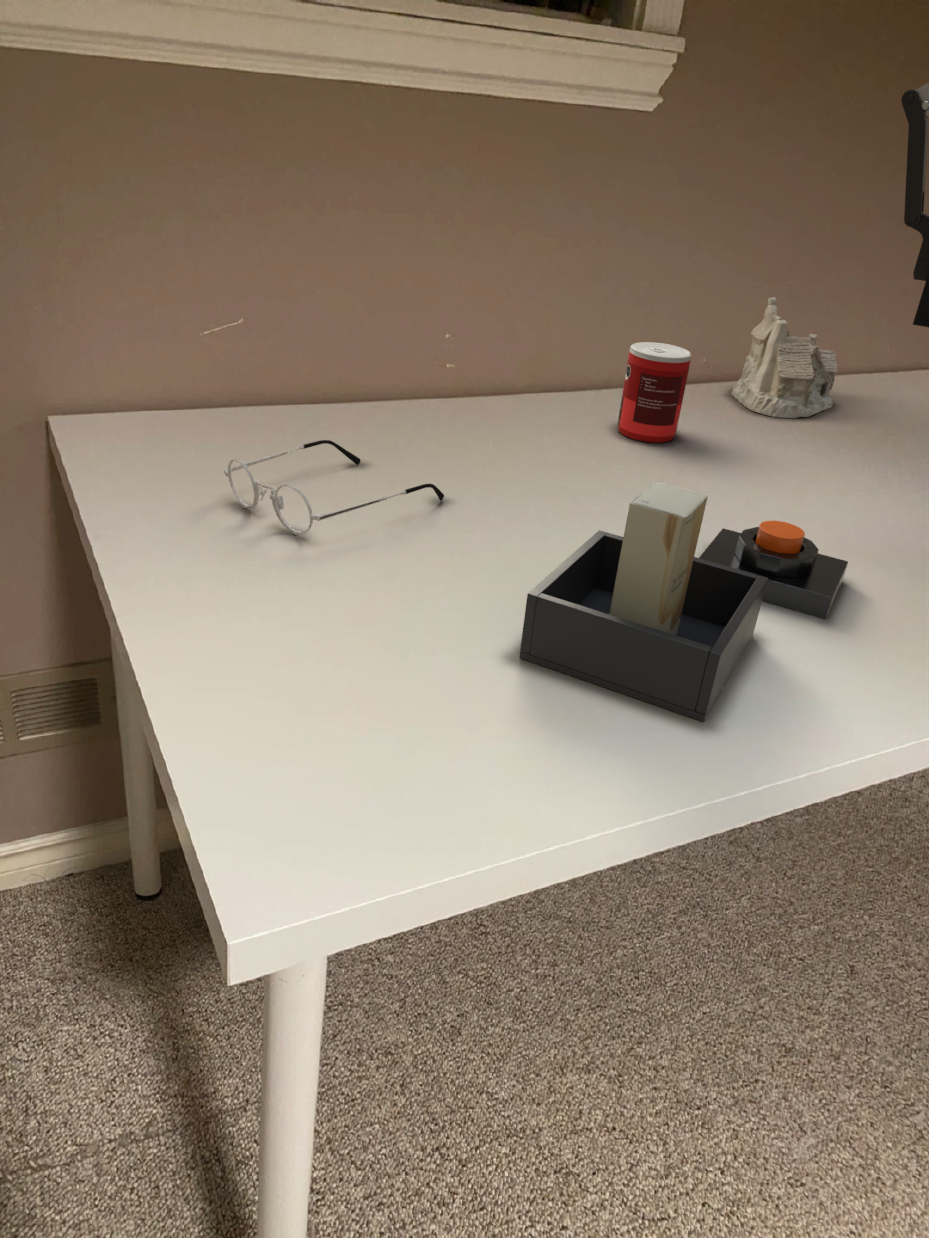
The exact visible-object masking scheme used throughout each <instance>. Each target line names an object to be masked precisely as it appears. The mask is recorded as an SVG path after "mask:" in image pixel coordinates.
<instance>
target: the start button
mask: <svg viewBox="0 0 929 1238" xmlns="http://www.w3.org/2000/svg"><path fill="white" fill-rule="evenodd" d="M758 527H759V530H758V534H757V537H756V541H755V543H756V544H757V545H759V546H761V547H762V548H764V549H766V550H770V551H774V552H778V553H785V554H795V553H799V552H800V550H801V546H802V543H803V539H804V537H805V536H806V533H805V531H804V529H802V528H801V527H799V526H797V525H795V524H792V523H789V522H785V521H781V520H765V521H762V522H761V523H759V526H758Z"/></svg>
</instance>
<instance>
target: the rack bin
mask: <svg viewBox="0 0 929 1238" xmlns="http://www.w3.org/2000/svg"><path fill="white" fill-rule="evenodd" d="M623 537H624V536H621V535H617V534H615V533H611V532H608V531H603V530H600V529H599V530H598V531H596V532H595V533H594V534H593V535H592V536H591V537H590V538H588V539H587V540H586V541H585V542H584V543H583V544H582V545H581V546H579V547H578V548H577V549H576V550H575V551H574V552H573V553H572V554H570V555H569V556H568V557H567V558H566V559H565V560H563V562H561V563H560V564H559V565H558V566H557V567H556V568H555V569H553V570H552V571H551V572H550V573H549V574H548V575H547V576H545V578H544V579H542V580H541V581H540V582H539V583H538V584H536V586H535V587H534V588H532V589H531V590H530V591H529V592H528V593H527V595H526V603H525V611H524V617H523V618H524V619H523V626H522V633H521V641H520V649H519V659H522V660H525V661H528V662H531V663H534V664H537V665H539V666H542V667H545V668H548V669H550V670H554V671H556V672H559V673H562V674H565V675H568V676H570V677H574V678H575V679H576V678H577V679H579V680H582V681H585V682H589V683H591V684H594V685H597V686H599V687H603V688H605V689H608V690H611V691H614V692H616V693H620V694H622V695H625V696H628V697H631V698H634V699H636V700H639V701H643V702H646V703H648V704H651V705H654V706H656V707H660V708H663V709H666V710H668V711H672V712H673V713H674V712H675V713H677V714H680V715H682V716H686V717H688V718H691V719H695V720H697V721H700V722H703V723H704V722H705V720H706V719H707V718H708V715H709V713H710V712H711V710H712V708H713V707H714V705H715V703H716V701H717V700H718V698H719V696H720V694H722V691H723V690H724V687H725V686H726V684H727V682H728V680H729V679H730V677H731V675H732V674H733V672H734V670H735V668H736V666H737V665H738V663H739V662H740V660H741V658H742V656H743V654H744V653H745V651H746V649H747V647H748V646H749V644H750V642H751V640H752V639H753V637H754V632H755V628H756V625H757V621H758V618H759V614H760V611H761V607H762V602H763V601H762V599H763V596H764V592H765V588H766V585H767V581H768V578H767V577H763V576H760V575H759V576H758V575H757V574H753V573H750V572H746V571H743V570H739V569H735V568H732V567H728V566H725V565H721V564H718V563H714V562H710V561H707V560H703V559H700V558H699V557H696V556H694V560H693V564H692V568H691V573H690V578H689V582H688V586H687V591H686V595H685V600H684V605H683V609H682V614H681V618H680V623H679V627H678V632H677V634H676V635H673V634H670V633H667V632H663V631H660V630H657V629H654V628H651V627H648V626H644V625H641V624H638V623H635V622H632V621H629V620H625V619H622V618H619V617H616V616H613V615H610V614H609V613H610V608H611V603H612V597H613V592H614V586H615V581H616V575H617V570H618V565H619V559H620V553H621V548H622V543H623Z"/></svg>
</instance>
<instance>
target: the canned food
mask: <svg viewBox="0 0 929 1238" xmlns="http://www.w3.org/2000/svg"><path fill="white" fill-rule="evenodd" d="M691 361H692V353H691V352H690V351H689V350H687V349H685V348H683V347H680V346H678V345H674V344H668V343H663V342H653V341H641V342H635V343H632V344H631V345H630V348H629V352H628V358H627V363H626V369H625V375H624V381H623V387H622V394H621V399H620V400H621V401H620V406H619V412H618V418H617V427H618V428H617V429H618V431H619V432H620V433H621V434H622V435H623V436H625V437H627V438H630V439H632V440H635V441H640V442H645V443H654V444H656V443H659V444H660V443H667V442H670V441H672V440H673V439H674V437H675V435H676V434H677V431H678V425H679V420H680V415H681V410H682V406H683V401H684V396H685V391H686V385H687V382H688V381H687V380H688V376H689V371H690V366H691Z"/></svg>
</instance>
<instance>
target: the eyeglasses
mask: <svg viewBox="0 0 929 1238" xmlns="http://www.w3.org/2000/svg"><path fill="white" fill-rule="evenodd" d="M324 444H326V445H327V444H328V445H331V446H333V447H334V448H336V450H338V451H339V452H340V453H342V455H344V456H345V457H346V458H348V459H349V460H350V461H351V462H352V463H354V464H355V465H360V463H361V458H360V457H358V456H356V455H355V454H353V453H352V452H350V451H349V450H347V449H345V448H344V447H342V446H341V445H339V444H338V443H336V442H334V441H333V440H329V439H322V440H321V439H320V440H316V441H313V442H308V443H305V444H302V445H301V446H299V447H296V448H294V449H290V450H285V451H281V452H278V453H275V454H272V455H268V456H265V457H262V458H258V459H255V460H252V461H249V462H245V463H244V462H243V461H242V460H241V459H239V458H234V459H231V460H230V461H229V463H228V465H227V468H225V469H223V474H224V475H225V477H228V482H229V485H230V487H231V490H232V492H233V495H234V496H235V498H236V499H237V500H238V502H239V503H240V504H241V505H242V508H243V509H247V510H255V509H256V508H257V506H258V504H259V500H260V502H262V501H263V500H264V497H265V495H266V493H267V490H270V494H269V499H270V500H271V505H272V507H273V510H274V512H275V515H276V517H277V519H278V520H279V521H280V523H281V524H282V526H283V527H284V528H285V529H286V530H288V531H289V532H291V533H292V534H293V535H295V536H298V535H299V534H300V535H302V534H306V533H308V532H309V531H310V530H311V529H312V526H313V524H314V523H313V522H314V521H318V522H319V521H322V520H327V519H329V518H330V519H331V518H333V517H335V516H336V517H337V516H339V515H342V514H345V513H348V512H352V511H356V510H358V509H361V508H365V507H368V506H371V505H374V504H377V503H378V504H379V503H381V502H383V501H387V500H388V499H391V498H393V497H394V498H395V497H397V496H400V495H401V496H402V495H408V494H411V493H414V492H417V491H420V490H423V489H427V488H430V489H433V492H434V493H435V494H436V496H437V498H438V500H439V501H440V502H442V501H443V499H444V498H445V494H444V493H443V492H442V491H441V490H440V489H439V488H438V487H437V486H436V485H435V484H433V483H424V484H423V483H422V484H420V485H417V486H416V485H415V486H413V487H410V488H406V489H404V490H402V491H400V492H398V493H395V494H393V495H389V496H383V497H379V498H376V499H373V500H370V501H369V500H368V501H366V502H363V503H359V504H355V505H353V506H348V507H345V508H341V509H339V510H335V511H331V512H328V513H325V514H317V513H313V509H312V506H311V505H310V502H309V500H308V499H307V497H306V496H305V494H304V493H303V491H301V490H300V489H299V488H298V487H296V486H294V485H293V484H289V483H285V484H282V485H280V486H278V487H277V488H276V490H275V488H274V487H271V486H267V485H265V484H262V483H261V482H260V481H259V480H256V481H255V479H254V476H253V474H252V472H251V471H250V469H249V467H250V466H254V465H257V464H260V463H263V462H266V461H269V460H273V459H276V458H279V457H281V456H285V455H287V454H288V453H291V452H295V451H298V450H305V449H309V448H312V447H315V446H320V445H324ZM234 461H235V462H237V463H239V464H238V465H235V466H232V464H233V462H234ZM242 469H244V470H245V471H246V473H247V476H248V477H249V479H250V482H251V485H252V489H253V502H252V504H251V505H249V504H247V503H245V502H244V501H243V500H242V498H241V497H240V496H239V494H238V492H237V490H236V488H235V486H234V481H233V477H232V472H235V471H238V470H242ZM282 487H288V488H291V489H293V490H294V491H295V492H297V493H298V494H299V495H300V496H301V498H302V499H303V501H304V503H305V505H306V508H307V509H308V513H309V514H308V515H309V524H308V528H307V529H306V530H305V531H299V530H297V529H295V528H293V526H291V525H289V523H288V522H287V521H286V520H285V518H284V516H283V515H282V513H281V510H284V508H285V507H284V498H283V496H282V495H278V494H279V491H280V489H281V488H282ZM263 488H264V490H263ZM260 490H261V491H260ZM260 496H261V498H260ZM259 498H260V499H259Z"/></svg>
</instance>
